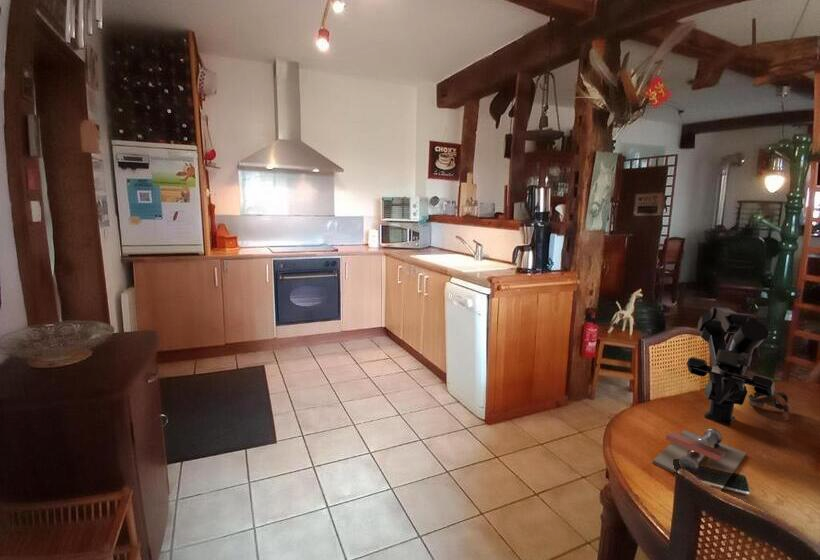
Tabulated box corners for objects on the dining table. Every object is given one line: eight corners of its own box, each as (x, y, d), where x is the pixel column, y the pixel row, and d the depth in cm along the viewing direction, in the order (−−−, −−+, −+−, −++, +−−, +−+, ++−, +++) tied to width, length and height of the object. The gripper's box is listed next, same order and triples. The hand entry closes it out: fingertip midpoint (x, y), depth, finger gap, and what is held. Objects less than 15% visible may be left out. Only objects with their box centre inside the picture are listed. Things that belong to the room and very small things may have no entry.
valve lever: (678, 429, 109) (666, 434, 103) (729, 448, 100) (720, 455, 94) (677, 434, 109) (665, 440, 103) (728, 454, 100) (719, 461, 94)
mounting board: (684, 432, 118) (684, 429, 118) (745, 455, 108) (746, 452, 108) (652, 463, 104) (652, 460, 104) (719, 493, 93) (720, 490, 93)
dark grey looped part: (784, 426, 123) (769, 399, 125) (750, 424, 132) (737, 399, 133) (805, 408, 128) (791, 383, 129) (771, 408, 137) (758, 384, 138)
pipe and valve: (703, 438, 114) (705, 425, 113) (722, 446, 110) (724, 432, 109) (676, 467, 101) (678, 453, 100) (697, 477, 98) (700, 462, 97)
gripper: (694, 329, 117) (673, 376, 112) (780, 349, 103) (760, 403, 98) (699, 349, 123) (680, 394, 119) (781, 370, 109) (763, 422, 105)
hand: (717, 402), depth 110 cm, fingers closed
